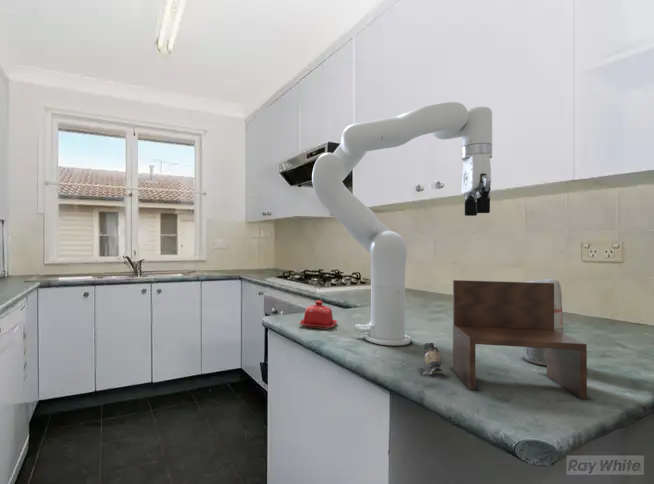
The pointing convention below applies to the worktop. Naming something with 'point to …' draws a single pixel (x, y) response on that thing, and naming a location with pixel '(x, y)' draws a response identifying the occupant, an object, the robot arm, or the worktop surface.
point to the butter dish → (318, 316)
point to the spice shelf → (514, 328)
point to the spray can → (541, 353)
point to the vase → (433, 358)
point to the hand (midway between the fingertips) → (476, 214)
